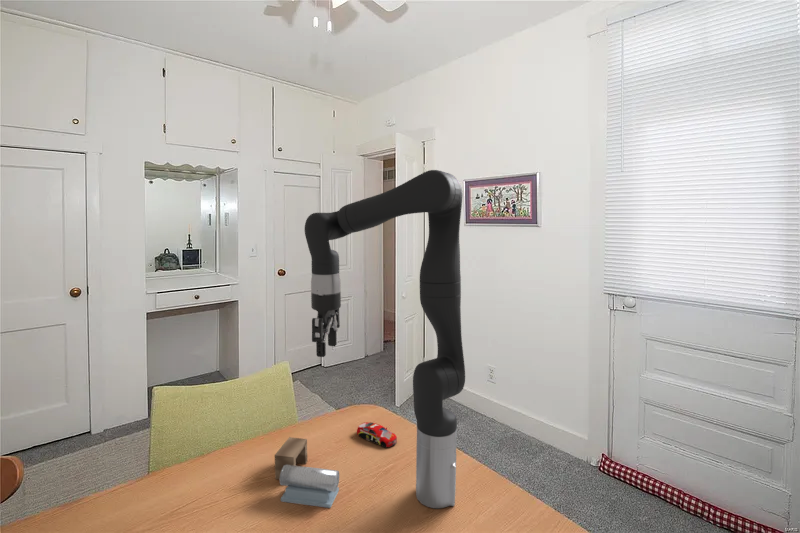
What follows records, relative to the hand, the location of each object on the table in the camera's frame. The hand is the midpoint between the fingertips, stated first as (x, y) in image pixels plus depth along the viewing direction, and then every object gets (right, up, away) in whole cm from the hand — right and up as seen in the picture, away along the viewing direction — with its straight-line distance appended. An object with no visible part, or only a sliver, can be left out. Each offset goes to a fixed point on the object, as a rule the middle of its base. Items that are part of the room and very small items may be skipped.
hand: (326, 350), depth 108 cm
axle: (-2, -29, -12) cm, 32 cm away
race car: (+12, -29, +13) cm, 34 cm away
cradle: (-2, -32, -12) cm, 34 cm away
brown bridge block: (-9, -31, -2) cm, 32 cm away
